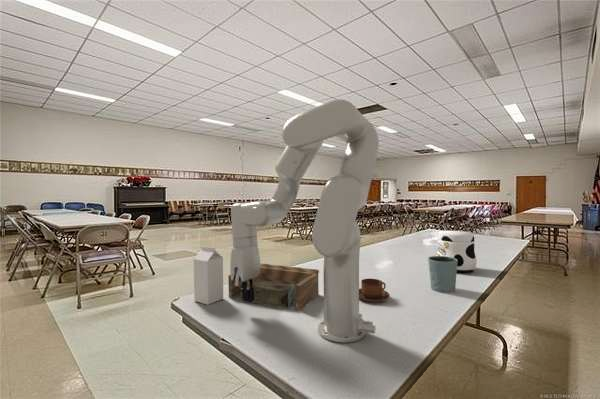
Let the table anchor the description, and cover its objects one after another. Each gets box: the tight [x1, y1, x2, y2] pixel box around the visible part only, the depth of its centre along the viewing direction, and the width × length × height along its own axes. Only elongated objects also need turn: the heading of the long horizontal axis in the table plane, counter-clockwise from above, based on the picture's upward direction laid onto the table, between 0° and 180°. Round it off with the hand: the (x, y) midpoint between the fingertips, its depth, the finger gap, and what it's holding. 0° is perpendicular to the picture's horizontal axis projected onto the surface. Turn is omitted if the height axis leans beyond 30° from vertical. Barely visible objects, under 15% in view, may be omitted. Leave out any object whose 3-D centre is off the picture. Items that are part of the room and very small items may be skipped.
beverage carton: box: [240, 280, 296, 309], centre depth 102 cm, size 8×19×6 cm, turn 68°
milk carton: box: [193, 245, 224, 306], centre depth 103 cm, size 7×7×19 cm
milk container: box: [435, 230, 478, 273], centre depth 141 cm, size 17×17×18 cm
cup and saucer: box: [359, 278, 390, 303], centre depth 103 cm, size 12×12×6 cm
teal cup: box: [427, 255, 458, 294], centre depth 112 cm, size 10×10×12 cm
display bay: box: [227, 262, 320, 311], centre depth 107 cm, size 29×16×9 cm, turn 64°
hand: (248, 300), depth 90 cm, fingers closed
